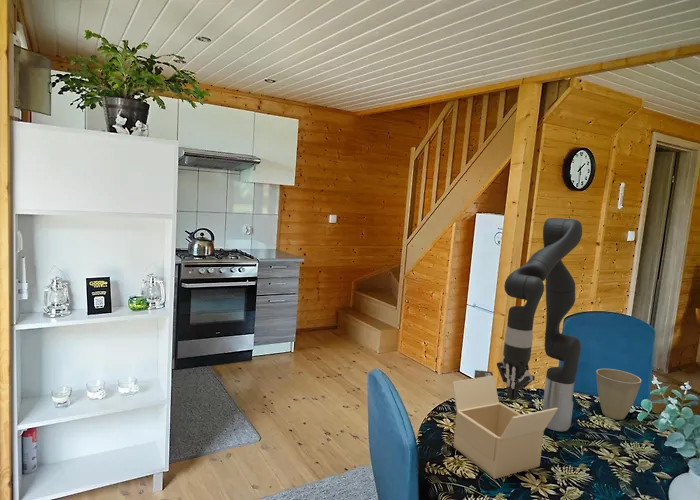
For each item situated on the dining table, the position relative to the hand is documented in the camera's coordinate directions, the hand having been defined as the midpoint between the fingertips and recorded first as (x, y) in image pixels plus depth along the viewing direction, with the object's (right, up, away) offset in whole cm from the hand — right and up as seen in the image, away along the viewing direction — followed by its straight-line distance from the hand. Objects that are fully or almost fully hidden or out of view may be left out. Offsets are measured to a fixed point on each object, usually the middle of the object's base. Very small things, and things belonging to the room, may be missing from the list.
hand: (511, 399), depth 137 cm
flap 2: (+3, -5, -6) cm, 8 cm away
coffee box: (-1, -17, +32) cm, 36 cm away
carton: (-3, -19, +6) cm, 20 cm away
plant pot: (+53, -20, +41) cm, 70 cm away
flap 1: (-7, -2, +13) cm, 15 cm away
